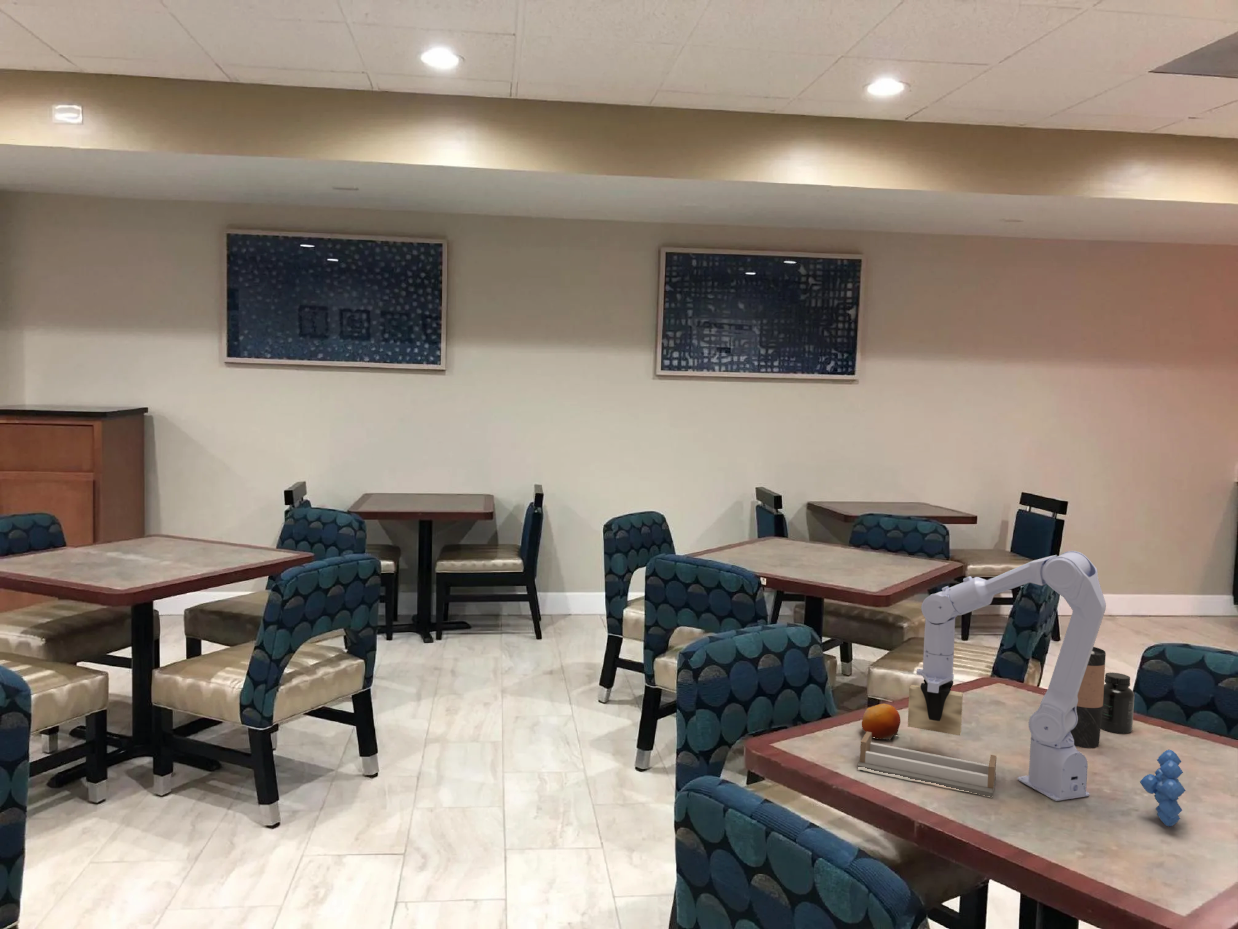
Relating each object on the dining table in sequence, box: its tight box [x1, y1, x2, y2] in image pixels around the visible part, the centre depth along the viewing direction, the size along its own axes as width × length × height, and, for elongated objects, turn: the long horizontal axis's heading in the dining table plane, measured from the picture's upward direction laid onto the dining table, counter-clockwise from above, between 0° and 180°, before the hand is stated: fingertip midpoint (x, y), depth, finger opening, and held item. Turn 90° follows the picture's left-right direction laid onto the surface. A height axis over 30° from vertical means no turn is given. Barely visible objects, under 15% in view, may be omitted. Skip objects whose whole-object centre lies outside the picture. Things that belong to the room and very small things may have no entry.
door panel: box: [907, 684, 964, 736], centre depth 176 cm, size 10×2×8 cm, turn 63°
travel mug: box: [1071, 646, 1107, 749], centre depth 185 cm, size 8×8×20 cm
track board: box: [857, 732, 997, 798], centre depth 167 cm, size 24×10×5 cm, turn 63°
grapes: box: [1139, 749, 1186, 828], centre depth 150 cm, size 12×7×12 cm, turn 152°
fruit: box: [861, 703, 901, 741], centre depth 186 cm, size 8×8×8 cm
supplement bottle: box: [1100, 671, 1135, 735], centre depth 193 cm, size 7×7×12 cm
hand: (935, 717), depth 177 cm, fingers closed on door panel, 2 cm apart
